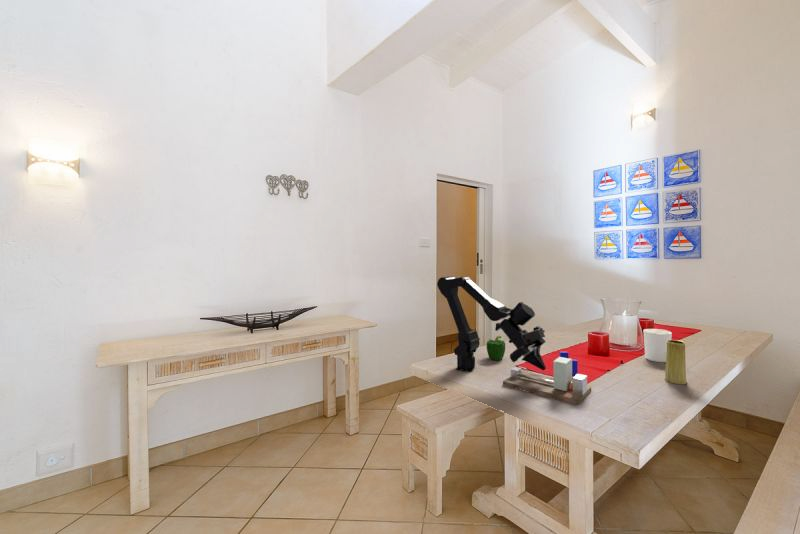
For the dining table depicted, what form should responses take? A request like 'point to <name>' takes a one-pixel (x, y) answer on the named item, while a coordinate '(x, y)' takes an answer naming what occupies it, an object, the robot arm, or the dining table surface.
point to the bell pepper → (496, 348)
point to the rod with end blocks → (575, 385)
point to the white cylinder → (656, 344)
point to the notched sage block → (562, 373)
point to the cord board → (544, 388)
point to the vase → (675, 362)
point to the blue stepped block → (574, 362)
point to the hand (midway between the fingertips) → (544, 369)
